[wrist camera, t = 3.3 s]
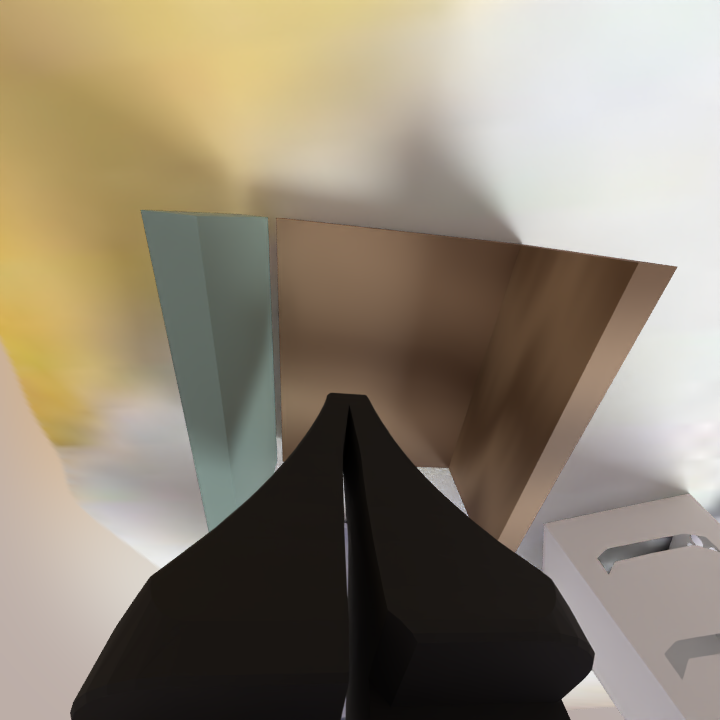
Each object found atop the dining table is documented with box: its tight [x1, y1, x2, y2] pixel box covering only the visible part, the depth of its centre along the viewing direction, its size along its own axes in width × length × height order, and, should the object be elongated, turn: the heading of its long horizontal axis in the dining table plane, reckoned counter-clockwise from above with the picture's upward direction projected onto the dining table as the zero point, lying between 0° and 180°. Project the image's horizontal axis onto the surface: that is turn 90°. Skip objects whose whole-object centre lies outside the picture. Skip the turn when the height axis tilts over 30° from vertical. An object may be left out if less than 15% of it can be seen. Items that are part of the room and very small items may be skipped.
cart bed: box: [276, 218, 677, 552], centre depth 12 cm, size 12×10×6 cm
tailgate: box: [141, 210, 277, 532], centre depth 10 cm, size 12×1×6 cm, turn 174°
